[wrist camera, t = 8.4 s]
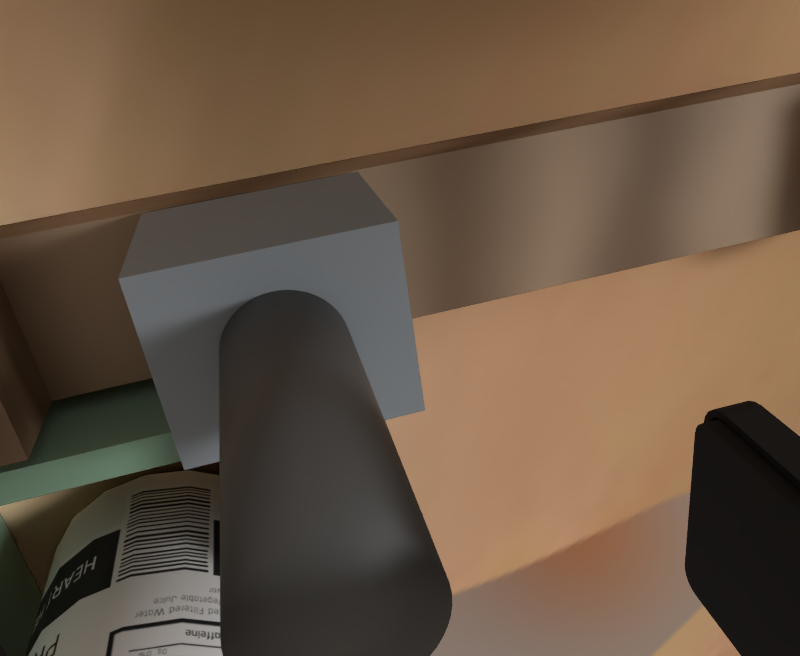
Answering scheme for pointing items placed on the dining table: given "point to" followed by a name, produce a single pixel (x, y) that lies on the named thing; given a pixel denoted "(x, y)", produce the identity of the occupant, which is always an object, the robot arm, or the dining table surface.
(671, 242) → the rail
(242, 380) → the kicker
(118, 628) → the supplement can
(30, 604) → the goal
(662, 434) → the dining table surface
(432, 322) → the dining table surface
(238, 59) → the dining table surface
